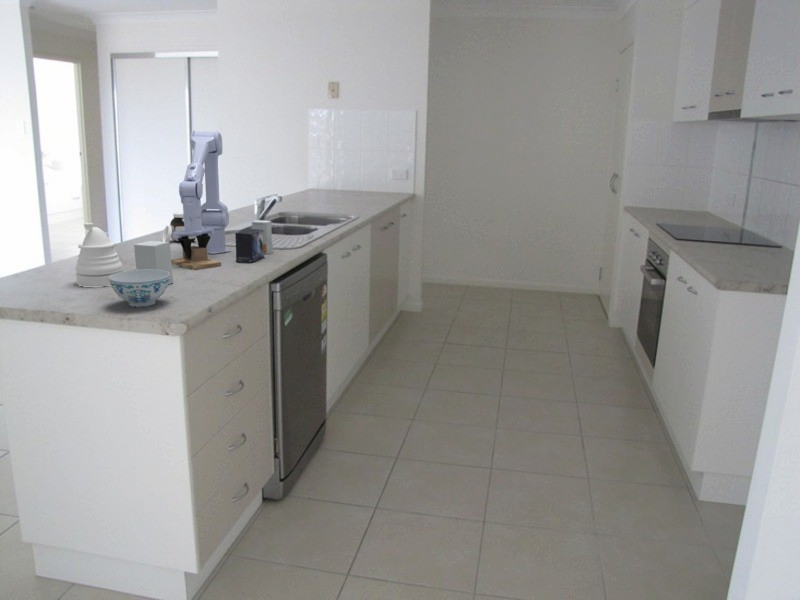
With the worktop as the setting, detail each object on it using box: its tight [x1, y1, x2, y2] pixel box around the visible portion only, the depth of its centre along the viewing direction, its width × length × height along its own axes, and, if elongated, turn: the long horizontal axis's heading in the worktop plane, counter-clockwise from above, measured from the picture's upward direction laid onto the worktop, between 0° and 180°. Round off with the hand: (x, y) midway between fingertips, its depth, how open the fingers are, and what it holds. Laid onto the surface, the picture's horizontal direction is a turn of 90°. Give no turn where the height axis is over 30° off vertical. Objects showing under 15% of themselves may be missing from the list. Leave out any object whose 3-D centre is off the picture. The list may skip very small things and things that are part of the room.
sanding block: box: [182, 245, 209, 263], centre depth 224 cm, size 8×4×4 cm, turn 48°
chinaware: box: [109, 269, 170, 308], centre depth 175 cm, size 15×15×8 cm
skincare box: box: [251, 219, 273, 255], centre depth 245 cm, size 6×4×12 cm
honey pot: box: [75, 222, 124, 287], centre depth 196 cm, size 13×13×18 cm
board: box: [171, 257, 222, 271], centre depth 225 cm, size 16×10×1 cm, turn 48°
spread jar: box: [162, 211, 197, 244], centre depth 265 cm, size 12×11×12 cm
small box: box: [234, 228, 265, 264], centre depth 233 cm, size 11×6×10 cm, turn 169°
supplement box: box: [133, 240, 174, 285], centre depth 195 cm, size 7×7×13 cm
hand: (195, 257), depth 224 cm, fingers closed on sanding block, 4 cm apart
